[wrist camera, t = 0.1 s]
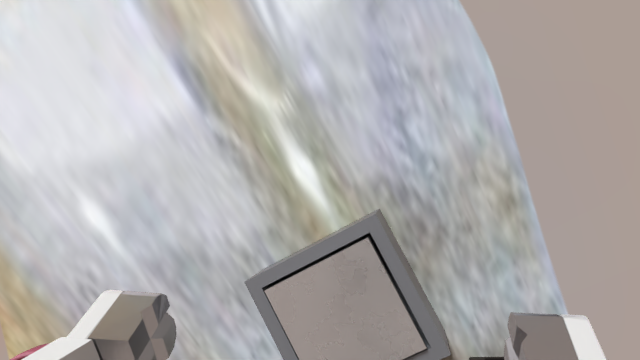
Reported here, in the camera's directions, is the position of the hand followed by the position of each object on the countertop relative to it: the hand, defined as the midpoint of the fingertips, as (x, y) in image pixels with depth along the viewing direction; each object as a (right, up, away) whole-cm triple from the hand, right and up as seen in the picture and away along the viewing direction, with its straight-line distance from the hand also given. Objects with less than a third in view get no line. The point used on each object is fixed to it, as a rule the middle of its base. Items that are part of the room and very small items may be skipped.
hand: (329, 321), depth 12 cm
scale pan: (+3, -14, +46) cm, 48 cm away
